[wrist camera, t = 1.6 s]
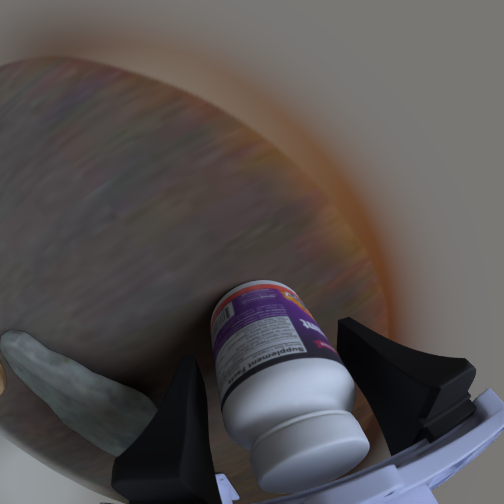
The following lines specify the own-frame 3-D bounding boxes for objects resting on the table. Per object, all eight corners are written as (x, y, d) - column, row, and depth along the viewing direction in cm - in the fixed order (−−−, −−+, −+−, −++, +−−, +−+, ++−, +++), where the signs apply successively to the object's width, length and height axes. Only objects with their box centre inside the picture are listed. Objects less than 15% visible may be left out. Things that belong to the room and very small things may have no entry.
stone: (-21, 366, 11) (29, 301, 10) (-2, 341, 14) (55, 274, 13) (145, 486, 18) (234, 463, 17) (147, 460, 20) (230, 431, 20)
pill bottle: (311, 333, 17) (386, 460, 8) (231, 366, 17) (265, 508, 8) (287, 260, 15) (390, 400, 6) (193, 300, 15) (205, 472, 6)
